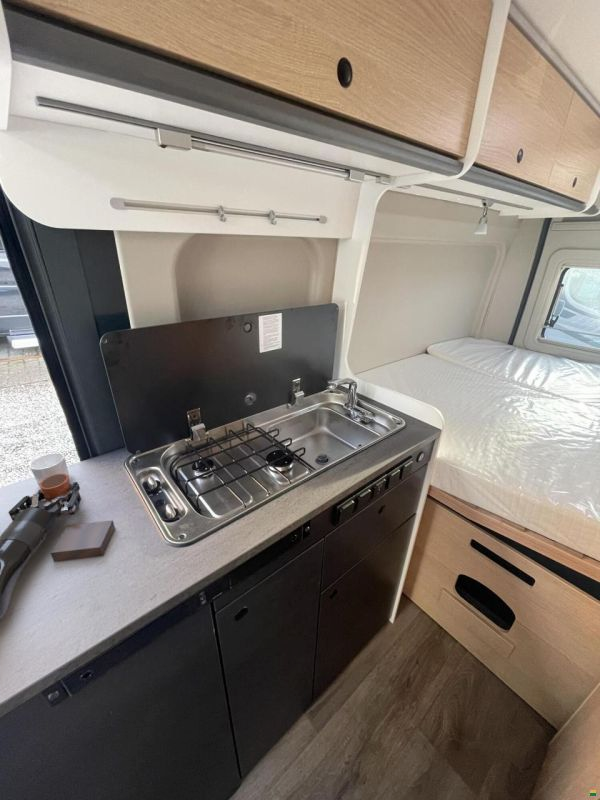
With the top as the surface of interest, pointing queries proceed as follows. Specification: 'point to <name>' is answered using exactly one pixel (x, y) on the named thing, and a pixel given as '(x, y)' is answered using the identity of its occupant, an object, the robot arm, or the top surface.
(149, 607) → the top surface
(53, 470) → the white cup
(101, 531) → the walnut block
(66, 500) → the robot arm
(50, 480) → the canister
